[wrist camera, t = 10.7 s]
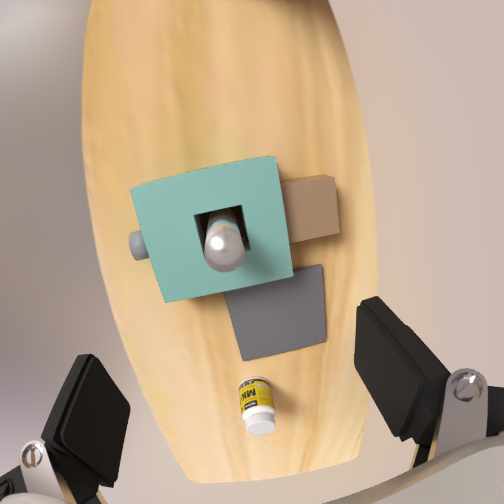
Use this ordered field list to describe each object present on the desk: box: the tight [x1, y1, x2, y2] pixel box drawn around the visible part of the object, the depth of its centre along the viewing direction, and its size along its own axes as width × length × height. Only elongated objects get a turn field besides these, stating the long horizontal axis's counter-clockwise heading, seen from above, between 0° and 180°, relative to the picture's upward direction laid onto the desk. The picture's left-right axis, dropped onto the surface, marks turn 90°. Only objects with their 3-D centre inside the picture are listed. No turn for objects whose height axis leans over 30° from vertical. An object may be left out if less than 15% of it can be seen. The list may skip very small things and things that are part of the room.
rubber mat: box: [224, 264, 326, 361], centre depth 35 cm, size 12×12×1 cm
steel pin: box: [204, 208, 245, 273], centre depth 25 cm, size 3×3×10 cm
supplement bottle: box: [239, 377, 276, 435], centre depth 35 cm, size 5×5×8 cm
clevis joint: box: [129, 156, 340, 303], centre depth 28 cm, size 22×12×4 cm, turn 100°
